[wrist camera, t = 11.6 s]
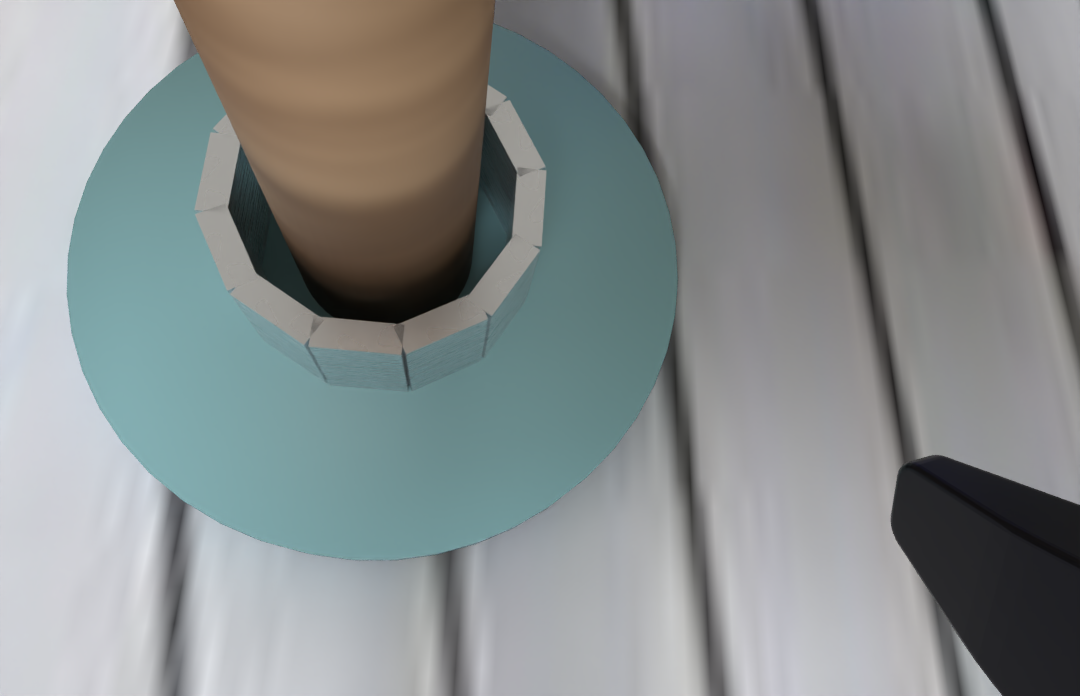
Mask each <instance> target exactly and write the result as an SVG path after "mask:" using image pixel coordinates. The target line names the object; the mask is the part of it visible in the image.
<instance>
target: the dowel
mask: <svg viewBox="0 0 1080 696" xmlns="http://www.w3.org/2000/svg"><path fill="white" fill-rule="evenodd" d="M174 2H175V4H176V6H177V8H178V10H179V12H180V14H181V17H182V19H183V21H184V23H185V25H186V27H187V30H188V32H189V34H190V36H191V38H192V40H193V43H194V45H195V47H196V49H197V51H198V53H199V55H200V58H201V60H202V62H203V64H204V66H205V68H206V71H207V73H208V75H209V77H210V79H211V81H212V84H213V86H214V88H215V90H216V92H217V94H218V97H219V99H220V101H221V103H222V105H223V107H224V109H225V112H226V114H227V116H228V118H229V120H230V122H231V125H232V127H233V129H234V131H235V133H236V135H237V138H238V140H239V142H240V144H241V146H242V148H243V150H244V153H245V155H246V157H247V159H248V161H249V163H250V166H251V168H252V170H253V172H254V174H255V176H256V179H257V181H258V183H259V185H260V187H261V189H262V192H263V194H264V196H265V198H266V200H267V202H268V204H269V207H270V209H271V211H272V213H273V215H274V217H275V220H276V222H277V224H278V226H279V228H280V230H281V233H282V235H283V237H284V239H285V241H286V243H287V245H288V248H289V250H290V252H291V254H292V256H293V258H294V261H295V263H296V265H297V267H298V269H299V271H300V274H301V276H302V278H303V280H304V282H305V284H306V287H307V288H308V290H309V292H310V293H311V295H312V297H313V298H314V299H315V300H316V302H317V303H318V304H319V305H320V306H321V307H322V308H323V309H324V310H325V311H326V312H327V313H329V314H330V315H331V316H333V317H334V318H339V319H350V320H361V321H371V322H382V323H393V324H400V323H402V322H405V321H407V320H410V319H412V318H414V317H417V316H419V315H421V314H424V313H426V312H429V311H431V310H433V309H436V308H438V307H440V306H443V305H445V304H448V303H450V302H452V301H455V300H456V299H457V298H458V297H459V295H460V294H461V292H462V290H463V289H464V287H465V284H466V282H467V280H468V277H469V274H470V270H471V264H472V256H473V245H474V234H475V222H476V211H477V200H478V189H479V177H480V166H481V155H482V144H483V132H484V121H485V110H486V99H487V88H488V76H489V65H490V54H491V43H492V31H493V20H494V9H495V0H174Z"/></svg>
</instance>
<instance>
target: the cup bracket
mask: <svg viewBox="0 0 1080 696" xmlns="http://www.w3.org/2000/svg"><path fill="white" fill-rule="evenodd" d="M677 283H678V276H677V259H676V244H675V239H674V234H673V229H672V224H671V219H670V214H669V210H668V207H667V204H666V201H665V198H664V195H663V192H662V189H661V187H660V184H659V181H658V178H657V176H656V174H655V172H654V170H653V168H652V166H651V164H650V162H649V160H648V158H647V156H646V154H645V152H644V150H643V148H642V147H641V145H640V144H639V142H638V140H637V139H636V137H635V136H634V134H633V133H632V131H631V130H630V128H629V127H628V125H627V124H626V122H625V121H624V120H623V118H622V117H621V116H620V115H619V114H618V113H617V111H616V110H615V109H614V108H613V107H612V106H611V104H610V103H609V102H608V101H607V100H606V99H605V97H604V96H603V95H602V94H601V93H600V92H599V91H598V90H597V89H595V88H594V87H593V86H592V85H591V84H590V83H589V82H588V81H587V80H586V79H585V78H584V77H582V76H581V75H580V74H579V73H578V72H577V71H576V70H574V69H573V68H571V67H570V66H569V65H567V64H566V63H565V62H563V61H562V60H560V59H559V58H558V57H556V56H555V55H554V54H552V53H551V52H549V51H548V50H546V49H544V48H542V47H541V46H539V45H537V44H535V43H534V42H532V41H530V40H528V39H526V38H525V37H523V36H521V35H519V34H517V33H515V32H512V31H510V30H508V29H505V28H503V27H501V26H498V25H496V24H494V23H493V31H492V43H491V54H490V65H489V76H488V88H487V99H486V110H485V121H484V132H483V144H482V155H481V166H480V177H479V189H478V200H477V211H476V222H475V234H474V245H473V256H472V264H471V270H470V274H469V277H468V280H467V282H466V284H465V287H464V289H463V290H462V292H461V294H460V295H459V297H458V298H457V299H456V300H455V301H452V302H450V303H448V304H445V305H443V306H440V307H438V308H436V309H433V310H431V311H429V312H426V313H424V314H421V315H419V316H417V317H414V318H412V319H410V320H407V321H405V322H402V323H400V324H393V323H382V322H371V321H361V320H350V319H339V318H334V317H333V316H331V315H330V314H329V313H327V312H326V311H325V310H324V309H323V308H322V307H321V306H320V305H319V304H318V303H317V302H316V300H315V299H314V298H313V297H312V295H311V293H310V292H309V290H308V288H307V287H306V284H305V282H304V280H303V278H302V276H301V274H300V271H299V269H298V267H297V265H296V263H295V261H294V258H293V256H292V254H291V252H290V250H289V248H288V245H287V243H286V241H285V239H284V237H283V235H282V233H281V230H280V228H279V226H278V224H277V222H276V220H275V217H274V215H273V213H272V211H271V209H270V207H269V204H268V202H267V200H266V198H265V196H264V194H263V192H262V189H261V187H260V185H259V183H258V181H257V179H256V176H255V174H254V172H253V170H252V168H251V166H250V163H249V161H248V159H247V157H246V155H245V153H244V150H243V148H242V146H241V144H240V142H239V140H238V138H237V135H236V133H235V131H234V129H233V127H232V125H231V122H230V120H229V118H228V116H227V114H226V112H225V109H224V107H223V105H222V103H221V101H220V99H219V97H218V94H217V92H216V90H215V88H214V86H213V84H212V81H211V79H210V77H209V75H208V73H207V71H206V68H205V66H204V64H203V62H202V60H201V58H200V55H199V53H197V54H196V55H194V56H193V57H191V58H190V59H188V60H187V61H185V62H184V63H182V64H181V65H179V66H178V67H176V68H175V69H174V70H173V71H172V72H171V73H170V74H168V75H167V76H166V77H165V78H164V79H163V80H161V81H160V82H159V83H158V84H157V85H156V86H154V87H153V88H152V89H151V90H150V91H149V92H148V93H147V94H146V95H145V96H144V97H143V99H142V100H141V101H140V102H139V103H138V104H137V105H136V106H135V107H134V109H133V110H132V111H131V112H130V113H129V114H128V115H127V116H126V117H125V119H124V120H123V122H122V123H121V124H120V126H119V127H118V129H117V130H116V132H115V133H114V135H113V136H112V138H111V139H110V141H109V142H108V143H107V145H106V146H105V148H104V149H103V151H102V153H101V155H100V157H99V159H98V161H97V163H96V165H95V167H94V169H93V171H92V173H91V175H90V177H89V179H88V181H87V183H86V186H85V189H84V192H83V195H82V198H81V201H80V204H79V207H78V210H77V213H76V216H75V220H74V225H73V231H72V236H71V242H70V247H69V253H68V273H67V299H68V307H69V316H70V324H71V332H72V336H73V339H74V343H75V347H76V350H77V354H78V357H79V361H80V364H81V368H82V371H83V373H84V376H85V378H86V380H87V382H88V384H89V386H90V389H91V391H92V393H93V395H94V397H95V399H96V402H97V404H98V406H99V408H100V410H101V411H102V413H103V414H104V416H105V417H106V419H107V420H108V422H109V423H110V425H111V426H112V428H113V429H114V431H115V432H116V434H117V435H118V437H119V438H120V440H121V441H122V443H123V444H124V445H125V446H126V447H127V448H128V449H129V451H130V452H131V453H132V454H133V455H134V456H135V457H136V458H137V459H138V461H139V462H140V463H141V464H142V465H143V466H144V467H145V468H146V469H147V471H148V472H149V473H150V474H151V475H153V476H154V477H155V478H156V479H157V480H159V481H160V482H161V483H162V484H163V485H165V486H166V487H167V488H168V489H170V490H171V491H172V492H173V493H174V494H176V495H177V496H178V497H179V498H180V499H182V500H183V501H184V502H186V503H188V504H189V505H191V506H193V507H194V508H196V509H198V510H199V511H201V512H203V513H204V514H206V515H207V516H209V517H211V518H212V519H214V520H216V521H217V522H219V523H221V524H223V525H225V526H228V527H230V528H232V529H235V530H237V531H239V532H242V533H244V534H246V535H249V536H251V537H253V538H256V539H258V540H260V541H264V542H267V543H271V544H275V545H278V546H282V547H286V548H289V549H293V550H296V551H300V552H304V553H308V554H313V555H319V556H327V557H334V558H342V559H350V560H402V559H409V558H416V557H424V556H431V555H438V554H441V553H445V552H449V551H452V550H456V549H460V548H463V547H467V546H471V545H474V544H477V543H479V542H482V541H484V540H487V539H489V538H491V537H494V536H496V535H498V534H501V533H503V532H505V531H508V530H510V529H512V528H514V527H516V526H517V525H519V524H521V523H523V522H524V521H526V520H528V519H529V518H531V517H533V516H534V515H536V514H538V513H540V512H541V511H543V510H545V509H546V508H548V507H549V506H550V505H552V504H553V503H554V502H556V501H557V500H558V499H560V498H561V497H562V496H563V495H565V494H566V493H567V492H568V491H570V490H571V489H572V488H574V487H575V486H576V485H577V484H579V483H580V482H581V481H582V480H584V479H585V478H586V477H587V476H588V475H589V474H590V473H591V472H592V471H593V470H594V469H595V468H596V467H597V466H598V465H599V464H600V463H601V462H602V461H603V460H604V459H605V458H606V457H607V456H608V454H609V453H610V452H611V451H612V450H613V449H614V448H615V447H616V445H617V444H618V443H619V441H620V440H621V438H622V437H623V436H624V434H625V433H626V432H627V430H628V429H629V428H630V426H631V425H632V423H633V422H634V421H635V419H636V418H637V416H638V414H639V412H640V411H641V409H642V407H643V405H644V403H645V401H646V399H647V398H648V396H649V394H650V392H651V390H652V388H653V387H654V385H655V382H656V379H657V377H658V374H659V371H660V368H661V366H662V363H663V360H664V358H665V355H666V352H667V349H668V345H669V340H670V336H671V331H672V326H673V322H674V317H675V309H676V296H677Z"/></svg>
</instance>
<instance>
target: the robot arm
mask: <svg viewBox="0 0 1080 696" xmlns="http://www.w3.org/2000/svg"><path fill="white" fill-rule="evenodd" d="M891 527H892V531H893V534H894V536H895V538H896V540H897V542H898V544H899V545H900V547H901V549H902V550H903V552H904V553H905V555H906V556H907V558H908V559H909V561H910V562H911V564H912V565H913V567H914V568H915V570H916V572H917V573H918V575H919V576H920V578H921V579H922V581H923V582H924V584H925V585H926V587H927V588H928V590H929V591H930V593H931V595H932V596H933V598H934V599H935V601H936V602H937V604H938V605H939V607H940V608H941V610H942V611H943V613H944V615H945V616H946V618H947V619H948V621H949V622H950V624H951V625H952V627H953V628H954V630H955V631H956V633H957V634H958V636H959V638H960V639H961V641H962V642H963V644H964V645H965V646H966V648H967V649H968V651H969V652H970V654H971V655H972V656H973V658H974V659H975V661H976V662H977V663H978V665H979V666H980V667H981V669H982V670H983V671H984V673H985V674H986V675H987V677H988V678H989V679H990V681H991V682H992V683H993V684H994V686H995V687H996V688H997V689H998V691H999V692H1000V693H1001V695H1002V696H1080V505H1078V504H1075V503H1073V502H1070V501H1067V500H1064V499H1061V498H1059V497H1056V496H1053V495H1050V494H1048V493H1045V492H1042V491H1039V490H1037V489H1034V488H1031V487H1028V486H1025V485H1023V484H1020V483H1017V482H1014V481H1012V480H1009V479H1006V478H1003V477H1000V476H998V475H995V474H992V473H989V472H987V471H984V470H981V469H978V468H975V467H973V466H970V465H967V464H964V463H962V462H959V461H956V460H953V459H950V458H948V457H944V456H941V455H931V456H928V457H924V458H921V459H917V460H914V461H910V462H907V463H905V464H903V465H902V467H901V468H900V470H899V472H898V475H897V481H896V488H895V494H894V500H893V506H892V513H891Z"/></svg>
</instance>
